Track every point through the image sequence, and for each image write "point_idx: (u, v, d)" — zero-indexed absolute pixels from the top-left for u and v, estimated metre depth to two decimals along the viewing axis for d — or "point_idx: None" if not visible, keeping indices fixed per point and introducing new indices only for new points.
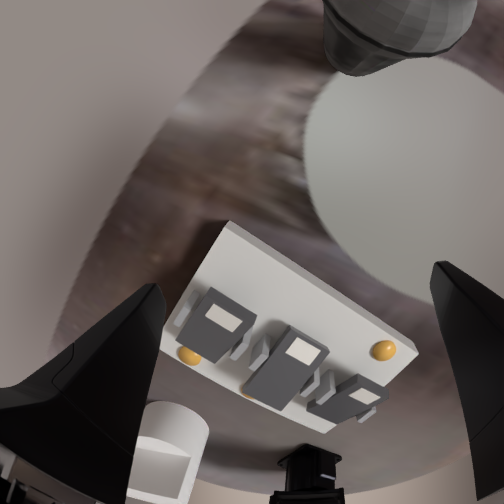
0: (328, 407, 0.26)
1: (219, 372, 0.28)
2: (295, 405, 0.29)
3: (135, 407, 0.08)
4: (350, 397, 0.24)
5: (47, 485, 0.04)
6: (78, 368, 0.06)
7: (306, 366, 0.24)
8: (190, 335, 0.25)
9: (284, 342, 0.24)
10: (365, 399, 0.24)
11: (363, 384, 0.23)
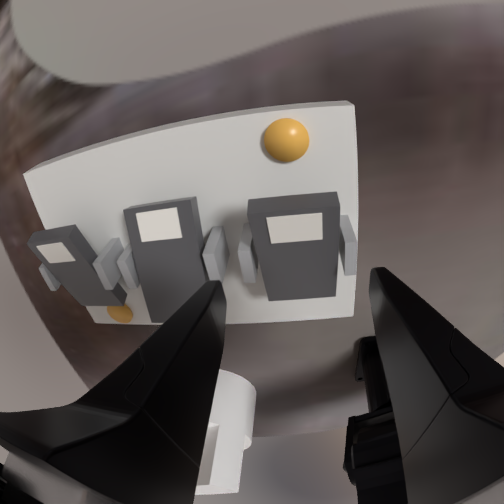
0: (281, 278, 0.17)
1: None
2: None
3: (203, 415, 0.08)
4: (279, 244, 0.15)
5: None
6: (156, 378, 0.06)
7: (180, 241, 0.16)
8: (76, 292, 0.19)
9: (130, 231, 0.16)
10: (305, 232, 0.14)
11: (263, 210, 0.13)
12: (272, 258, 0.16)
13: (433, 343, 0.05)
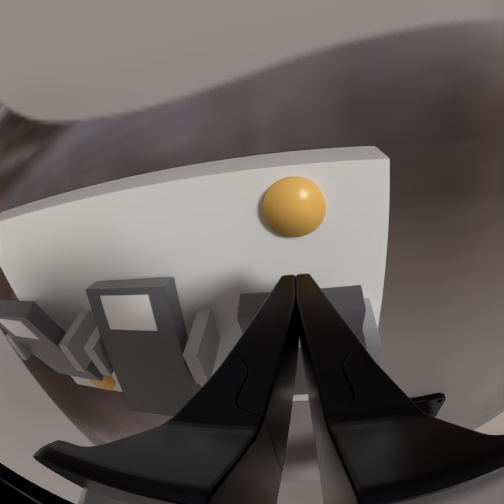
0: None
1: None
2: None
3: (288, 416, 0.07)
4: None
5: None
6: (269, 381, 0.05)
7: (155, 333, 0.12)
8: (49, 362, 0.15)
9: (97, 315, 0.12)
10: None
11: None
12: None
13: (326, 357, 0.06)
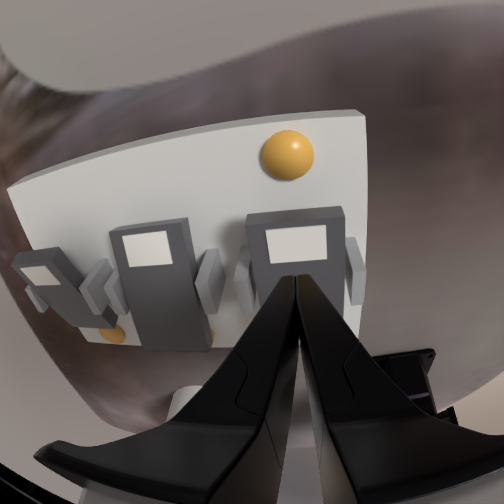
0: None
1: None
2: None
3: (288, 416, 0.07)
4: (279, 265, 0.13)
5: None
6: (269, 381, 0.05)
7: (171, 267, 0.15)
8: (65, 313, 0.18)
9: (117, 255, 0.15)
10: (307, 250, 0.13)
11: (262, 222, 0.13)
12: (271, 283, 0.14)
13: (326, 357, 0.06)
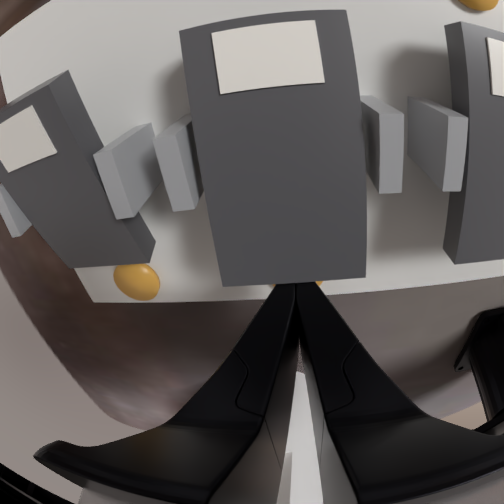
0: (491, 196, 0.07)
1: (205, 276, 0.13)
2: (412, 248, 0.11)
3: (288, 416, 0.07)
4: (501, 102, 0.05)
5: None
6: (269, 381, 0.05)
7: (320, 90, 0.06)
8: (58, 238, 0.10)
9: (193, 74, 0.06)
10: None
11: (480, 27, 0.05)
12: (489, 135, 0.06)
13: (326, 357, 0.06)
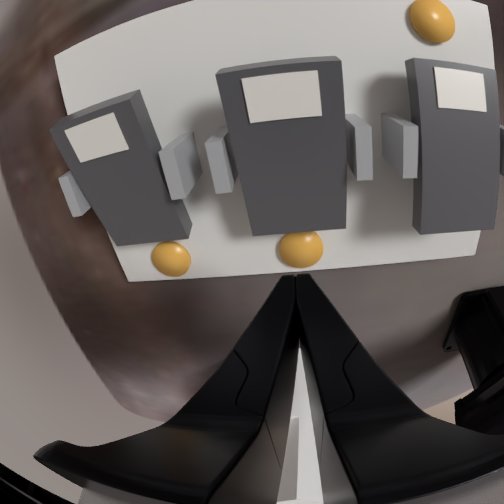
0: (443, 181, 0.10)
1: (229, 254, 0.16)
2: (391, 229, 0.15)
3: (288, 416, 0.07)
4: (446, 112, 0.09)
5: None
6: (269, 381, 0.05)
7: (318, 120, 0.10)
8: (114, 218, 0.13)
9: (229, 107, 0.10)
10: (470, 97, 0.09)
11: (429, 59, 0.08)
12: (437, 137, 0.10)
13: (326, 357, 0.06)
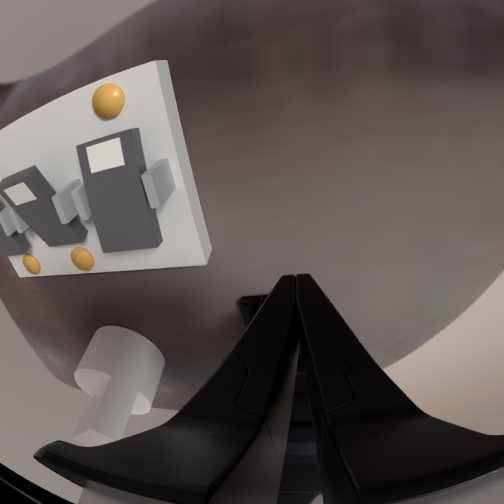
0: (105, 218, 0.17)
1: (53, 261, 0.24)
2: None
3: (288, 416, 0.07)
4: (97, 175, 0.16)
5: None
6: (269, 381, 0.05)
7: (37, 200, 0.17)
8: None
9: (7, 200, 0.16)
10: (111, 159, 0.16)
11: None
12: (95, 192, 0.17)
13: (326, 357, 0.06)
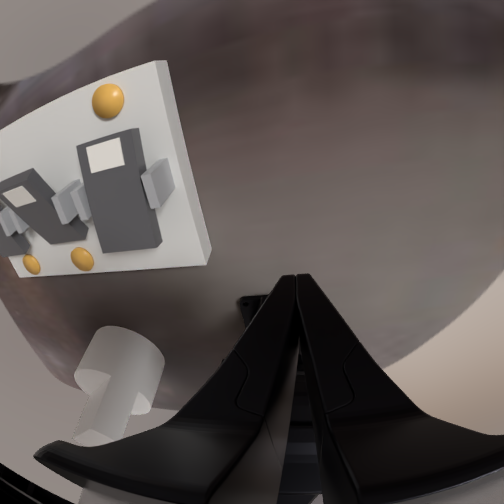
0: (105, 218, 0.17)
1: (53, 262, 0.24)
2: None
3: (288, 416, 0.07)
4: (97, 175, 0.16)
5: None
6: (269, 381, 0.05)
7: (36, 202, 0.17)
8: None
9: (6, 203, 0.16)
10: (111, 159, 0.16)
11: (86, 142, 0.16)
12: (95, 192, 0.17)
13: (326, 357, 0.06)
